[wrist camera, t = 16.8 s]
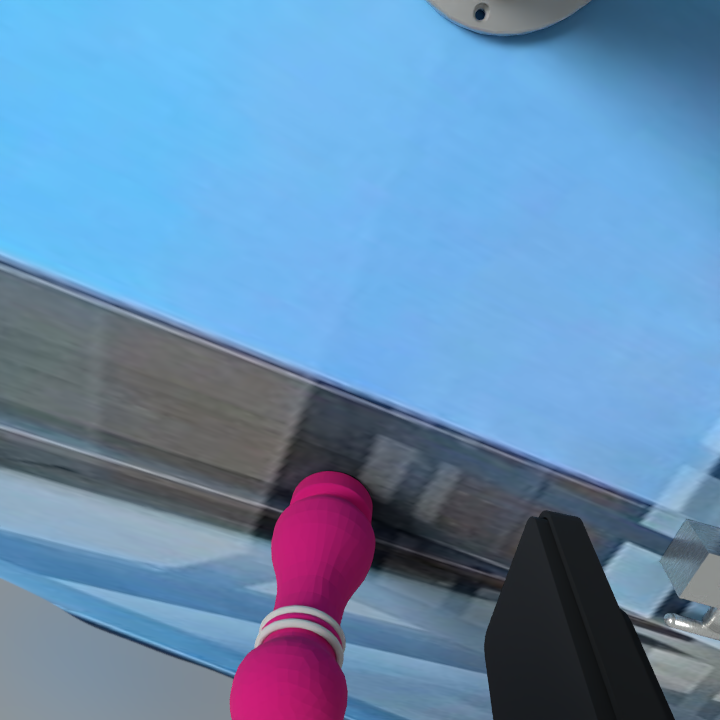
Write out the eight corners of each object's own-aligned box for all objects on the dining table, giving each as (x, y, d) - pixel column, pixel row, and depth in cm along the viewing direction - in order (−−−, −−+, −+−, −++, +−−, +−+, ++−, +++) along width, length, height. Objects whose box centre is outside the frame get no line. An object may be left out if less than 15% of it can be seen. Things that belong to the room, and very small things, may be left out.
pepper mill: (395, 522, 44) (378, 814, 25) (316, 552, 46) (247, 843, 27) (350, 450, 41) (296, 712, 23) (269, 484, 43) (159, 751, 25)
